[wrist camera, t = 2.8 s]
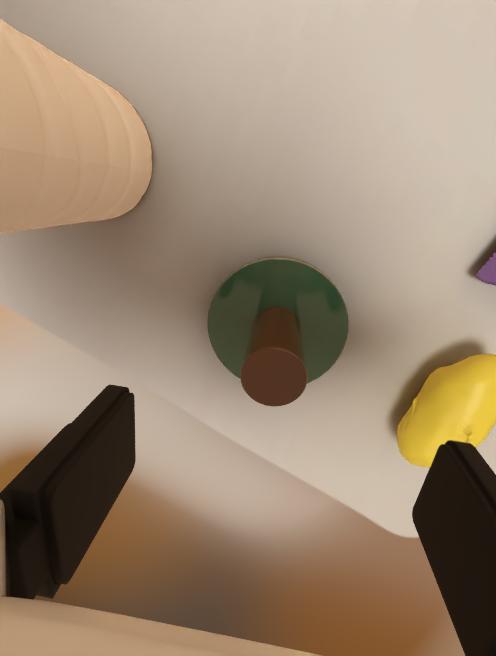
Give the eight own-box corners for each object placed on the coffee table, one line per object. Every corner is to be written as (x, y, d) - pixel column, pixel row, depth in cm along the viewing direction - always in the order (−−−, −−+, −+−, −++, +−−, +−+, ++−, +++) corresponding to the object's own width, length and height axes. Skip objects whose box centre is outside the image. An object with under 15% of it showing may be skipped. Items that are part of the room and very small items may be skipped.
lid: (207, 369, 22) (176, 438, 16) (216, 246, 19) (183, 271, 12) (329, 388, 21) (347, 466, 15) (359, 265, 18) (397, 300, 12)
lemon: (369, 425, 22) (386, 470, 18) (453, 327, 19) (493, 358, 15) (423, 452, 22) (449, 502, 19) (513, 360, 19) (566, 399, 16)
